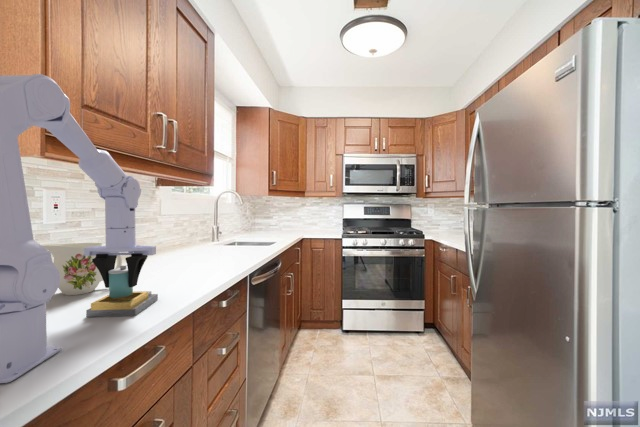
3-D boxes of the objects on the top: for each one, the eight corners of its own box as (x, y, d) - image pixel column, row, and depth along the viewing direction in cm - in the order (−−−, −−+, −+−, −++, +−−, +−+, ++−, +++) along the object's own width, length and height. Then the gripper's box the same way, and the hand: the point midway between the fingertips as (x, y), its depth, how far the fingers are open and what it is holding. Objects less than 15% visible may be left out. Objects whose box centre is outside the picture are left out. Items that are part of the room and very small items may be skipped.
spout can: (126, 297, 65) (125, 268, 65) (104, 298, 65) (103, 269, 65) (136, 291, 70) (136, 264, 70) (116, 292, 69) (115, 264, 69)
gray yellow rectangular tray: (135, 315, 64) (135, 302, 64) (86, 317, 63) (86, 303, 63) (160, 297, 76) (160, 286, 76) (119, 299, 75) (119, 287, 75)
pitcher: (126, 288, 85) (125, 241, 85) (41, 302, 72) (40, 247, 72) (117, 281, 93) (117, 238, 92) (39, 293, 80) (38, 243, 79)
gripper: (161, 226, 72) (161, 281, 72) (98, 226, 70) (98, 282, 71) (147, 228, 65) (148, 289, 65) (77, 228, 63) (78, 290, 64)
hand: (121, 286), depth 67 cm, fingers closed on spout can, 4 cm apart
